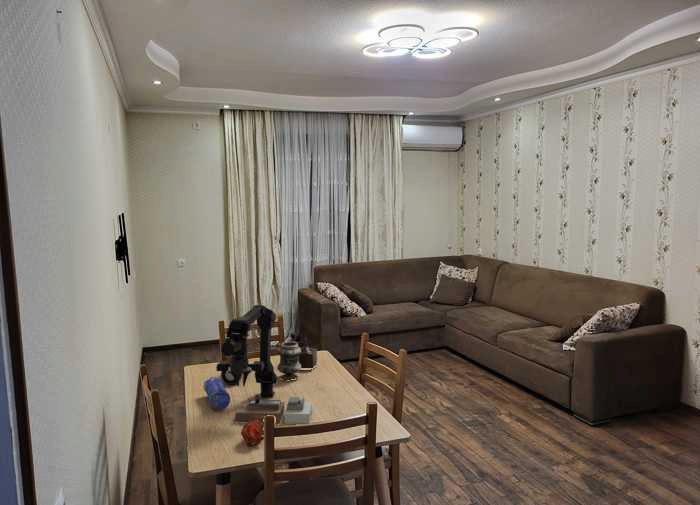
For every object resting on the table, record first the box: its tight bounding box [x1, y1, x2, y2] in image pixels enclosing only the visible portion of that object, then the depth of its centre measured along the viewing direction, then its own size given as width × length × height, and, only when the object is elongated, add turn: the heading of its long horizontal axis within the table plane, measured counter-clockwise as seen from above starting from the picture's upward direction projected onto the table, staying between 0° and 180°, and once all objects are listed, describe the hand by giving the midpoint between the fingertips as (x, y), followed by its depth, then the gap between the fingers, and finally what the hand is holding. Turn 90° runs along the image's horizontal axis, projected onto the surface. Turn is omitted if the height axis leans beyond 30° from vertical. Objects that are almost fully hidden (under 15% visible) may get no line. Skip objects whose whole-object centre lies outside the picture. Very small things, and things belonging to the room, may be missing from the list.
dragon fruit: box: [240, 420, 265, 447], centre depth 189 cm, size 8×8×12 cm
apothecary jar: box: [277, 341, 301, 381], centre depth 259 cm, size 12×12×18 cm
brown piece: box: [289, 331, 318, 368], centre depth 277 cm, size 16×11×18 cm
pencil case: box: [203, 376, 231, 412], centre depth 227 cm, size 22×9×10 cm, turn 23°
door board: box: [234, 399, 285, 424], centre depth 212 cm, size 12×18×6 cm, turn 88°
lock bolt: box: [251, 393, 280, 407], centre depth 212 cm, size 12×2×5 cm, turn 88°
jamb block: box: [283, 396, 313, 424], centre depth 212 cm, size 12×10×8 cm
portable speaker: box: [220, 355, 250, 385], centre depth 261 cm, size 26×10×10 cm, turn 1°
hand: (240, 386), depth 212 cm, fingers open, 2 cm apart
